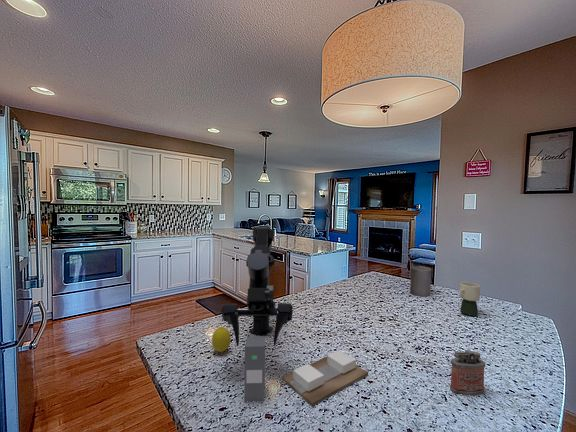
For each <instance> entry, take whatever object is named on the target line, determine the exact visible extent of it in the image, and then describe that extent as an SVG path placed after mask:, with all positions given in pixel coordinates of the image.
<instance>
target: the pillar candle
mask: <svg viewBox="0 0 576 432" xmlns="http://www.w3.org/2000/svg"><path fill="white" fill-rule="evenodd" d="M409 285H410V287H409V289H410V290H409V291H410V292H409V293H410V294H411V295H413V296H415V297H420V298H428V296H429V297H430V296H431V290H432V289H431V287H432V268H431V267H427V266H423V265H413V266H411V267H410V284H409Z"/></svg>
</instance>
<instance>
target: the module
mask: <svg viewBox="0 0 576 432" xmlns="http://www.w3.org/2000/svg"><path fill="white" fill-rule="evenodd" d="M265 371H266V335H265V336H263V335H258V336H257V335H255V336H254V335H251V336H250V335H249V336H246V339H245V343H244V380H243V381H244V389H243V390H244V393H243V394H244V396H243V397H244V399H243V402H244V403H254V402H253V401H264V402H265V391H264V390H265V388H266V385H265V384H266V376H265V375H266V374H265V373H266V372H265ZM247 401H248V402H247Z"/></svg>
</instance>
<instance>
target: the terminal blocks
mask: <svg viewBox="0 0 576 432" xmlns="http://www.w3.org/2000/svg"><path fill="white" fill-rule="evenodd" d="M326 357H327V363H328V364H329V365H331V366H332V367H334V368H335V369H337V370H338V371H340V372H341V373H343V374H344V373H346V372H348V371H350V370H352V369H354V368H356V364H357V360H356V359H355V358H354V357H352V356H350V355H349V354H347V353H346V352H343V351H342V350H337V351H335V352H333V353H330V354H327V356H326ZM309 364H310V363H307V364H305V365H302V366H300V367H298V368H295V369H293V370H292V372H293V379H294V380H295V381H297V382H298V383H299V384H300V385H301V386H302V387H304V388H305V389H306V390H307V391H308V392H309V391H311V390H312V389H314V388H316V387H318V386H320V385H322V384H324V375H323V374H322V373H320V372H319V371H318V370H316V369H315V368H313V367H312V366H311V365H309Z"/></svg>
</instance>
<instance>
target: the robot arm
mask: <svg viewBox="0 0 576 432" xmlns="http://www.w3.org/2000/svg"><path fill="white" fill-rule="evenodd" d="M274 241H275V230H274V229H273V228H270V226H268V225H258V226H256V228H253V229H252V242H254V247H252V248H251V249H250V253H249V254H247V259H246V261H245V263H246V265H245V266H246V267H247V269H248V276H249V285H248V288H247V296H246V306H247V307H245V308H241V307H240V308H239V304H238V303H224V304H223V305H222V306H221V310H220V312H221V317H222V321H224V322H226V323H227V325H230V326H231V327H232V330H233V333H234V338H235V343H236V347H239V346H240V322H239V317H253V320H252V328H251V329H250V330H249V333H251V334H255V335H258V336H265V337H266V336H267V335H268V334H269V333H271V331H273V329H274V332H273V333H274V334H273V347H275V346H276V345H277V341H278V338H279V335H280V332H281V330H282V328H283V326H284V325H287V324H288V322H291V321H292V320H293V315H294V314H293V313H294V312H293V311H294V310H293V304H292V303H290V302H287V303H285V302H284V303H282V302H281V303H280V302H279V303H277V307H276V302H275V301H274V295H275V291H274V285H270V270H271V268H272V267H273V265H275V257H274V256H273V255H272V254H271V249H272V247H273V242H274ZM273 316H274V317H275V318H276V320H275V324H274V326H270V317H273Z"/></svg>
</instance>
